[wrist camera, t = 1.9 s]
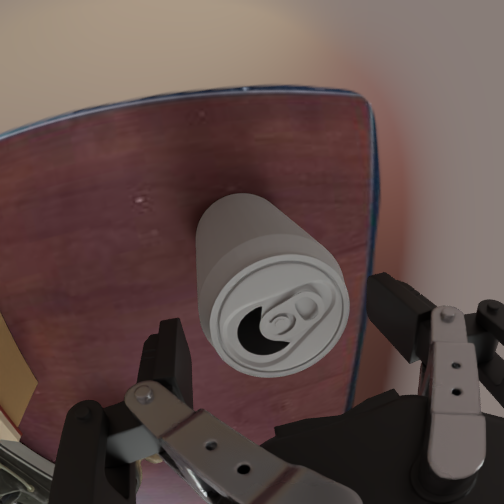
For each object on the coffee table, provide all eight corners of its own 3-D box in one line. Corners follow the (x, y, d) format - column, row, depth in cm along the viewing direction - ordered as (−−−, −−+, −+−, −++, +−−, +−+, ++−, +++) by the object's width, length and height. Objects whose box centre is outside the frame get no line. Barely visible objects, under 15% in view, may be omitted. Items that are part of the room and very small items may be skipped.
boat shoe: (-66, 372, 22) (-96, 417, 13) (117, 484, 32) (114, 540, 23) (-63, 407, 23) (-85, 447, 14) (95, 502, 34) (91, 548, 25)
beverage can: (177, 225, 22) (162, 313, 11) (253, 173, 22) (315, 209, 10) (228, 290, 24) (257, 406, 13) (298, 243, 24) (378, 329, 13)
